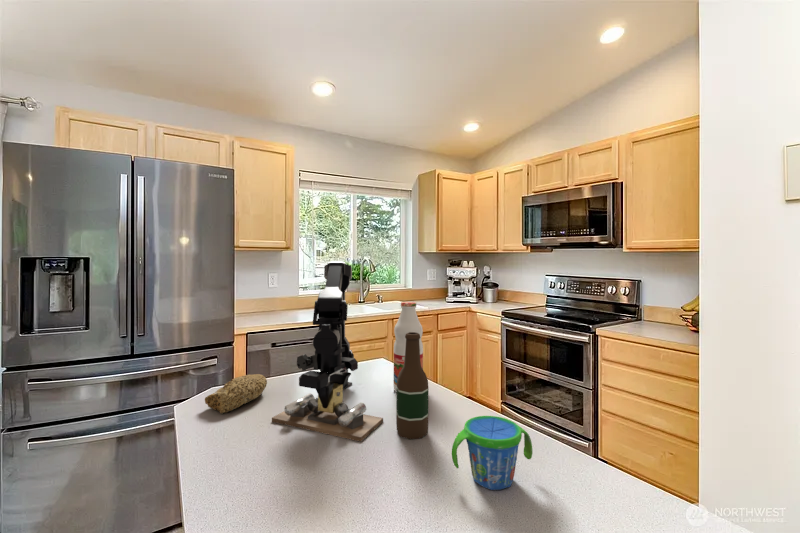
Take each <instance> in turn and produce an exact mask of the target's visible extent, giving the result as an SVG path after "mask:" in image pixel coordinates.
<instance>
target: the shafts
mask: <svg viewBox="0 0 800 533" xmlns="http://www.w3.org/2000/svg"><path fill="white" fill-rule="evenodd" d="M307 403H308V408H309V410H310V411H311V412H313V413H316V412H318V411H319V410H318V397H315V396H314V394H312V393H307V394H306V395H304V396H302V397H299V398H298V399H296V400H294V401H292V402H290V403H288V404H287V405H285V406H284V408H283V409H284V411H285V413H286V414H287V415H288V416H290V415H292V414H294V413H296V412H297V411H299V410H300V407H302V406H304V405H305V404H307ZM349 409H350V410H349ZM334 411H335V414H336V415H337V417H339V419H338V423H339V425H340V426H342V427H346V426H347V425H348V424H350V423H351V422H352V420H353V419H354V418H355V417H356V416H358V415H359V414H360V413H361V414H364V413H365V412H366V411H367V406H366V404H365V403H363V402H358V403H357V404H356V405H354V406H353V407H352V408H349V406H348V405H347V403H346V402H344V401H342V402H340V403H338V404H337V405H336V406H335V409H334Z"/></svg>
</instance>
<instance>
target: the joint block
mask: <svg viewBox="0 0 800 533" xmlns="http://www.w3.org/2000/svg"><path fill="white" fill-rule="evenodd" d="M331 383H332V382H331ZM343 390H344V389H343V384H337V383H334V384H333V388H332V392H331V396H330V400H329V403H328V407H327V408H323V407H322V404H321V401H320V398H319V396H318V395H317V398H318V410H319V411H323V412H328V413H334V412H335V411H334V409H335V406H336V405H337V404H338V403H340V402H343V398H344V397H343V396H344V395H343Z"/></svg>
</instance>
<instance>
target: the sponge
mask: <svg viewBox="0 0 800 533" xmlns="http://www.w3.org/2000/svg"><path fill="white" fill-rule="evenodd" d="M267 384H268V380H267V378H266V376H264V375H263V374H260V373H256V374H244V375H241V376H237V377H234V378H232V379H231V380H230V381H228V382H226V383H225V384H224V385H223V386H222V387H219V388H218V389H216V391H215V392H214V393H211V394H209V395H207V396H205V397H204V402H205V404H206V405H207V408H210V409H212V410H215V411H218V412H219V413H220V414H226V413H228V412H231V411H233V410H235V409H238V408H240V407H241V406H243V405H246V404H247V403H249V402H251V401H252V400H255V399H257V398H258V397H260V395H262V394H263V392H264V391H265V389H266V388H267Z"/></svg>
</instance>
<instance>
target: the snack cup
mask: <svg viewBox="0 0 800 533" xmlns="http://www.w3.org/2000/svg"><path fill="white" fill-rule="evenodd" d="M522 434H524V436H522ZM522 437H523V440H524V441H523V446H524V447H523V456H524V457H525V459H526V460H532V458H533V444H532V438H531V437H530V434H529V433H528V431H526V430H525V429H524V428H522V427H521V426H520V425H518V424H517V423H515V421H512V420H510V419H508V418H505V417H500V416H494V415H479V416H475V417H471V418H469V419H467V420H466V422H465V423H464V427H463V429H462V430H460V431H459V432H458V433H457V435H456V437H454V441H453V443H452V446H451V447H452V448H451V458H452V459H451V460H452V463H453V464H454V467H456V469H460V468H459V460H458V459H459V458H458V452H457V451H458V448H459V446H460V445H461V444H462V443H463V441H464V440H466V444H467V449H468V457H469V464H470V471H471V475H472V478H473V481H474V482H475V483H477V484H478V485H479V486H481V487H483V488H485V489H489V490H491V491H494V490H495V491H499V490H504V489H507V488H510V487H511V486H512V484H513V481H514V477H515V472H516V467H517V466H516V464H517V459H518V453H519V446H520V444H521V440H522Z"/></svg>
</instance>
